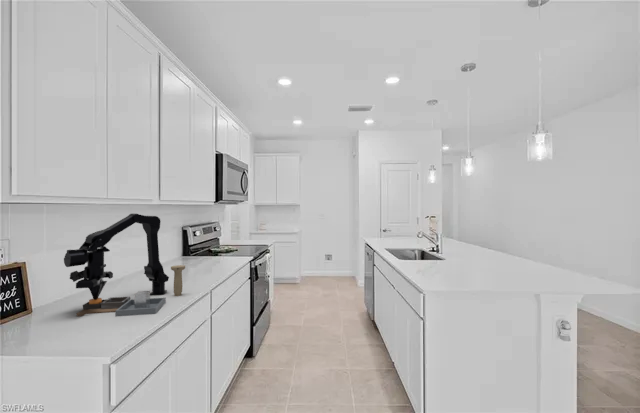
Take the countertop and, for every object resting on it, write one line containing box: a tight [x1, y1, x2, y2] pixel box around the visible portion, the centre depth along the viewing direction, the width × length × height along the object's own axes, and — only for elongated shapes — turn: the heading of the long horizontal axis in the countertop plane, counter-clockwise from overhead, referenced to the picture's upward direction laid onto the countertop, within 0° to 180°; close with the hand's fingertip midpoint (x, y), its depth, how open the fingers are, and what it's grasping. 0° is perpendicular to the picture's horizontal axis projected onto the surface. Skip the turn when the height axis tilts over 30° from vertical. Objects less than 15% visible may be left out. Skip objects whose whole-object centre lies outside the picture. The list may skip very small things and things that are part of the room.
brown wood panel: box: [76, 296, 131, 317], centre depth 131 cm, size 15×16×4 cm
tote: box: [114, 297, 167, 317], centre depth 129 cm, size 15×15×3 cm
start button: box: [88, 297, 103, 304], centre depth 130 cm, size 4×4×2 cm
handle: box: [170, 264, 186, 297], centre depth 149 cm, size 5×6×15 cm
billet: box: [134, 290, 151, 309], centre depth 129 cm, size 4×4×7 cm
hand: (95, 299), depth 130 cm, fingers closed, pressing on start button
